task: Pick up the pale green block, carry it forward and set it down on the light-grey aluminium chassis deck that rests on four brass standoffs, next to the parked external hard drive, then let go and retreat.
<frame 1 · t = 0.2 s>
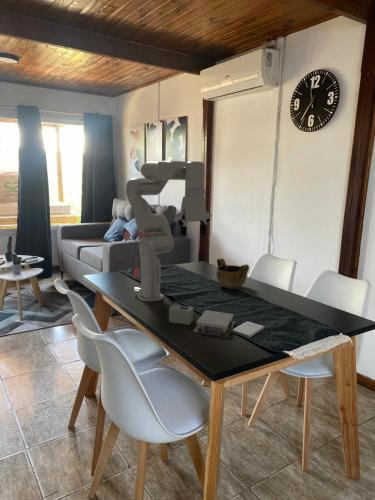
hand: (193, 235, 152), 36 cm above the table, tool pointing down, fingers open, 9 cm apart
chassis: (215, 327, 150), on the table
pale green block: (180, 321, 156), on the table
external hard drive: (247, 331, 149), on the table
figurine: (146, 279, 218), on the table
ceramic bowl: (230, 287, 205), on the table
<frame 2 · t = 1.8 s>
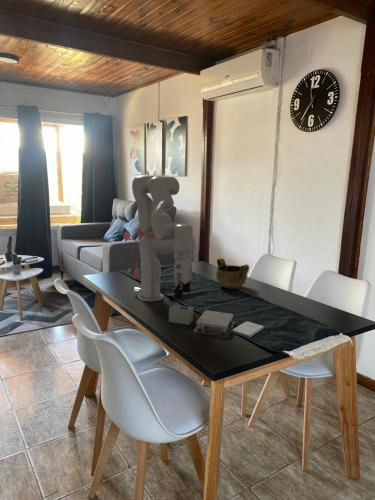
hand: (182, 295, 153), 12 cm above the table, tool pointing down, fingers open, 9 cm apart
nothing on the table moved.
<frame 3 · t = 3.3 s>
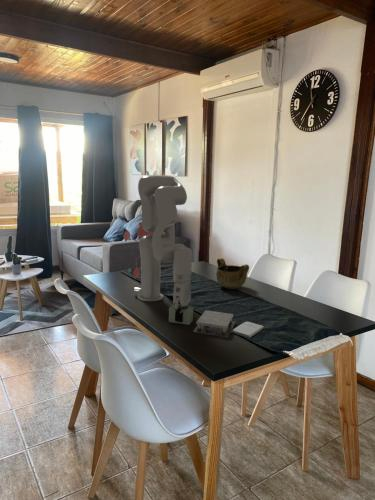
hand: (181, 318, 156), 1 cm above the table, tool pointing down, fingers closed on pale green block, 5 cm apart
pale green block: (180, 321, 156), on the table, touching gripper
everything else where it was.
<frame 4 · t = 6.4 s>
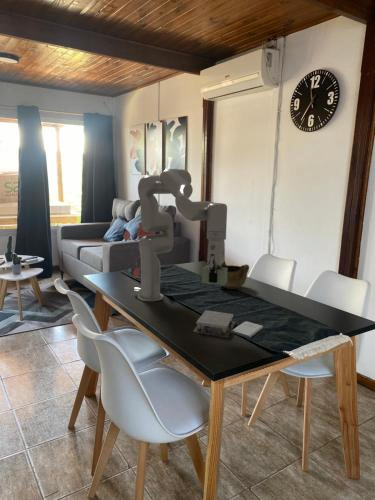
hand: (214, 279, 147), 20 cm above the table, tool pointing down, fingers closed on pale green block, 5 cm apart
pale green block: (214, 282, 147), point 19 cm above the table, touching gripper
everything else where it was.
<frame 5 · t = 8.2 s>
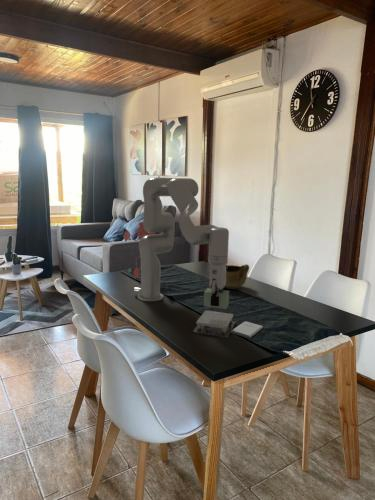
hand: (216, 302, 148), 10 cm above the table, tool pointing down, fingers closed on pale green block, 5 cm apart
pale green block: (216, 305, 149), point 9 cm above the table, touching gripper
everything else where it was.
when the fingers open (6 cm above the table, at t = 9.5 s): pale green block stays where it is, resting on chassis.
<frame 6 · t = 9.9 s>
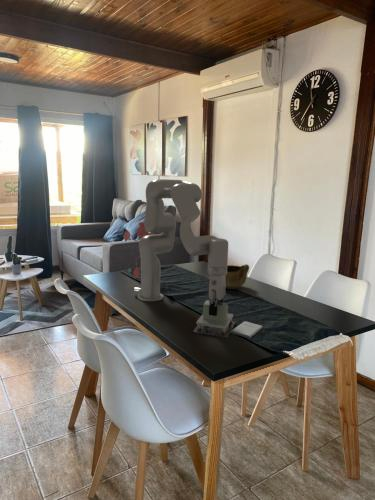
hand: (215, 311, 149), 7 cm above the table, tool pointing down, fingers open, 9 cm apart
pale green block: (215, 317, 150), point 4 cm above the table, touching chassis
everything else where it was.
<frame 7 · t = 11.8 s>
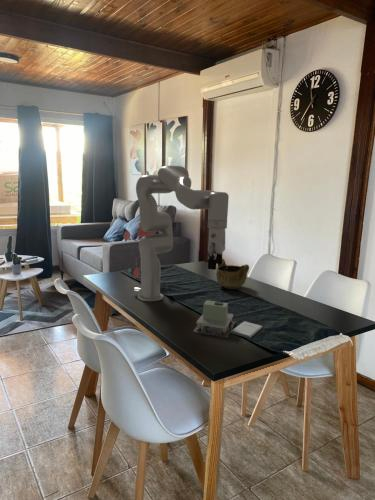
hand: (215, 266, 148), 25 cm above the table, tool pointing down, fingers open, 9 cm apart
nothing on the table moved.
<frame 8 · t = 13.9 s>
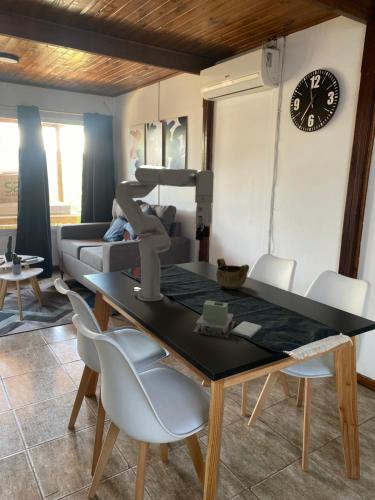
hand: (202, 238, 162), 33 cm above the table, tool pointing down, fingers open, 9 cm apart
nothing on the table moved.
at the end: pale green block inside the target area on the chassis (0.1 cm from its centre), point 4.0 cm above the chassis's base; pale green block tilted 0°; the gripper is holding nothing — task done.
